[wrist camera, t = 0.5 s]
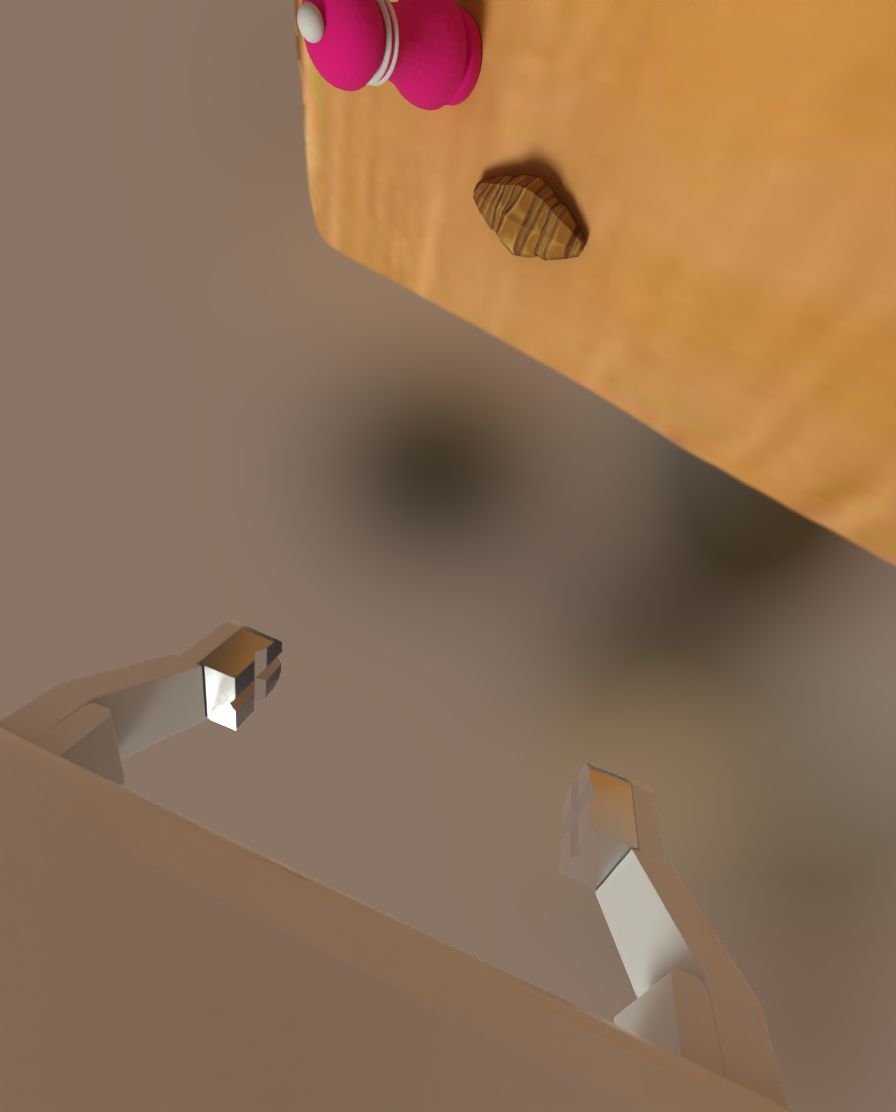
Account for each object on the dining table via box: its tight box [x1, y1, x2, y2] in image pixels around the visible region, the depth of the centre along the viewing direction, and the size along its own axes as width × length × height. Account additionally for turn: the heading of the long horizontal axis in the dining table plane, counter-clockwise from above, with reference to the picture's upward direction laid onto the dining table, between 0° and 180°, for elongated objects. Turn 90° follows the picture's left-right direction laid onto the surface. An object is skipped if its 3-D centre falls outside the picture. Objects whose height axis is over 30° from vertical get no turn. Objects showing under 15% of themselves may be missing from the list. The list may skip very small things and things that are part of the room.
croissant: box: [473, 174, 585, 260], centre depth 44 cm, size 14×7×5 cm, turn 71°
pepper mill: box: [297, 0, 482, 110], centre depth 35 cm, size 7×7×20 cm
